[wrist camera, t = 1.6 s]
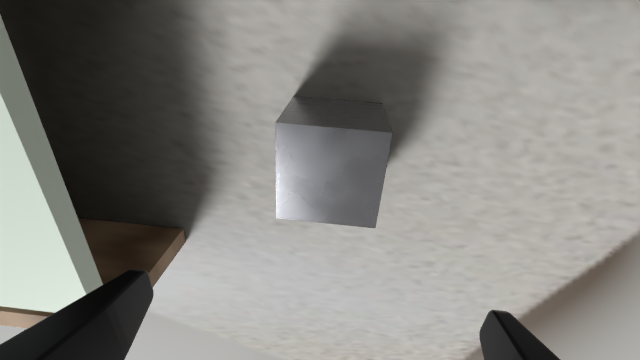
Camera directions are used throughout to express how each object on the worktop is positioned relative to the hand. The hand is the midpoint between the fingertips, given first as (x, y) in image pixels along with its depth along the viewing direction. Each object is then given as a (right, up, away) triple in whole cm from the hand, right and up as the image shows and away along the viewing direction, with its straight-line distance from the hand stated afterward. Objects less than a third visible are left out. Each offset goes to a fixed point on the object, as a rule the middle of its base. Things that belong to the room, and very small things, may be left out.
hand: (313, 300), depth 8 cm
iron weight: (+1, +6, +11) cm, 12 cm away
